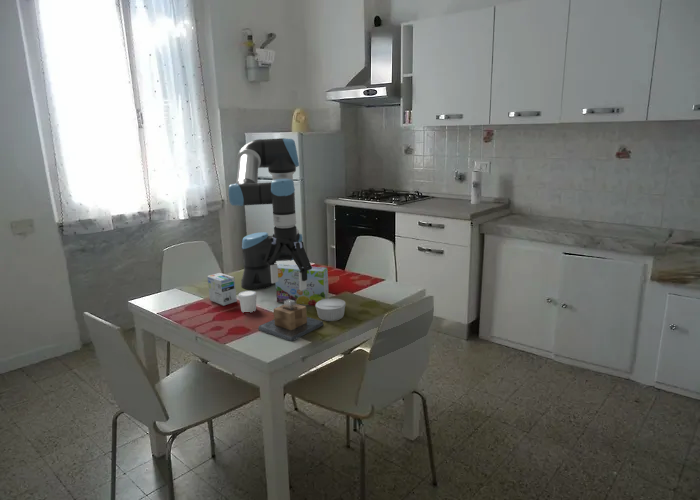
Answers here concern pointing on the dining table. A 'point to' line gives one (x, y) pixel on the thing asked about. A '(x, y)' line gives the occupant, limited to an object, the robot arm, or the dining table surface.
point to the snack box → (290, 285)
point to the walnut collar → (290, 317)
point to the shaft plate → (287, 333)
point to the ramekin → (330, 309)
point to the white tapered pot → (247, 301)
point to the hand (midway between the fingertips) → (288, 285)
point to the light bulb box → (222, 288)
